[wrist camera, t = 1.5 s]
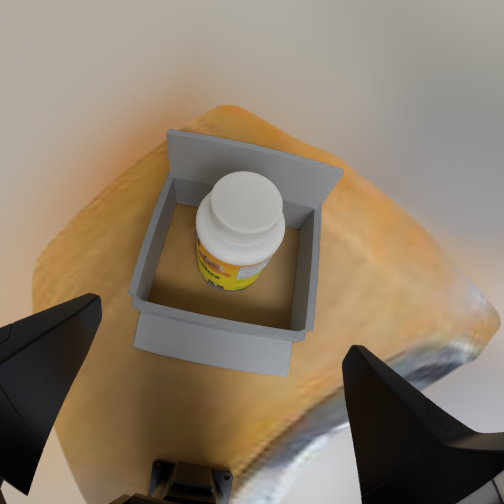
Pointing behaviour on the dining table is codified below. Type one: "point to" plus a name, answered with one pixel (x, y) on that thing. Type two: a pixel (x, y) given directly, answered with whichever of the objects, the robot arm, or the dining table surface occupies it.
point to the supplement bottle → (238, 230)
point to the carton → (192, 193)
